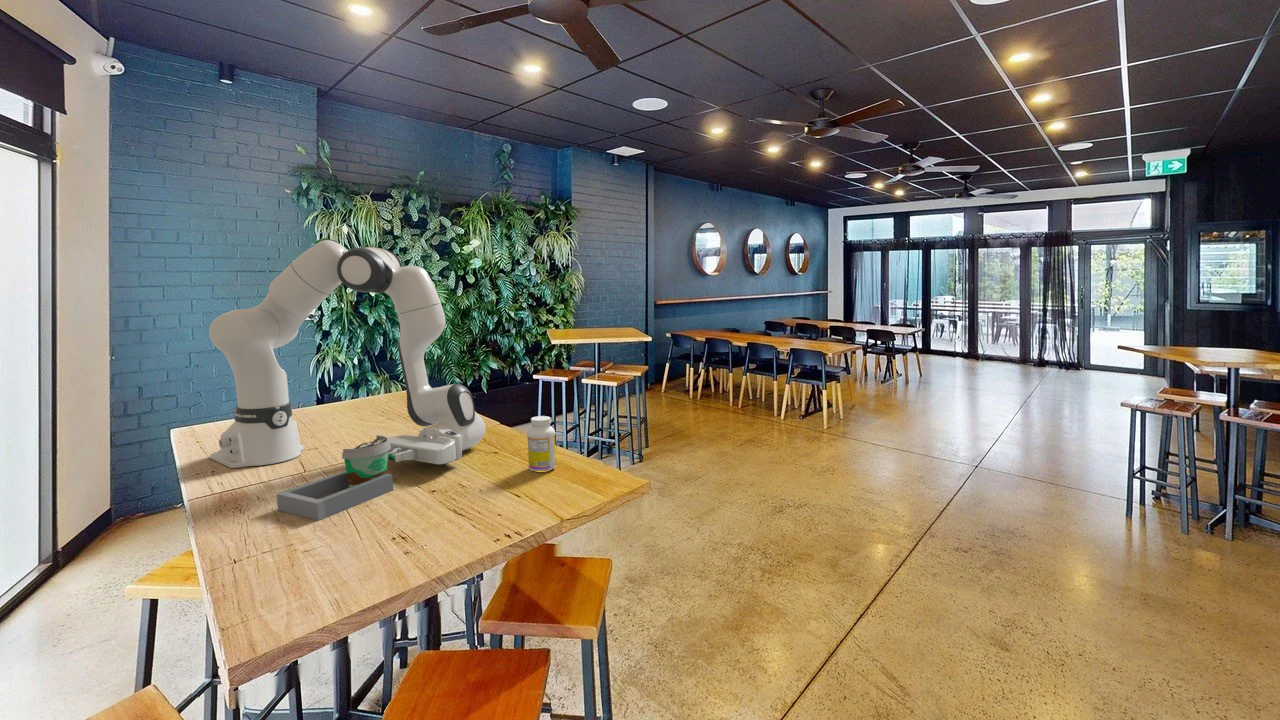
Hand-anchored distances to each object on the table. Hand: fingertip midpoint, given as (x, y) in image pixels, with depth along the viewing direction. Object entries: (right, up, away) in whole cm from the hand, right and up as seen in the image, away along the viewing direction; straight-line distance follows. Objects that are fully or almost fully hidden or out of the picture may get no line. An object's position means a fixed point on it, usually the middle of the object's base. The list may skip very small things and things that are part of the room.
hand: (391, 458), depth 134 cm
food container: (-2, -6, -4) cm, 7 cm away
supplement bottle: (+34, -4, +7) cm, 35 cm away
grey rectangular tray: (-6, -7, -12) cm, 15 cm away
